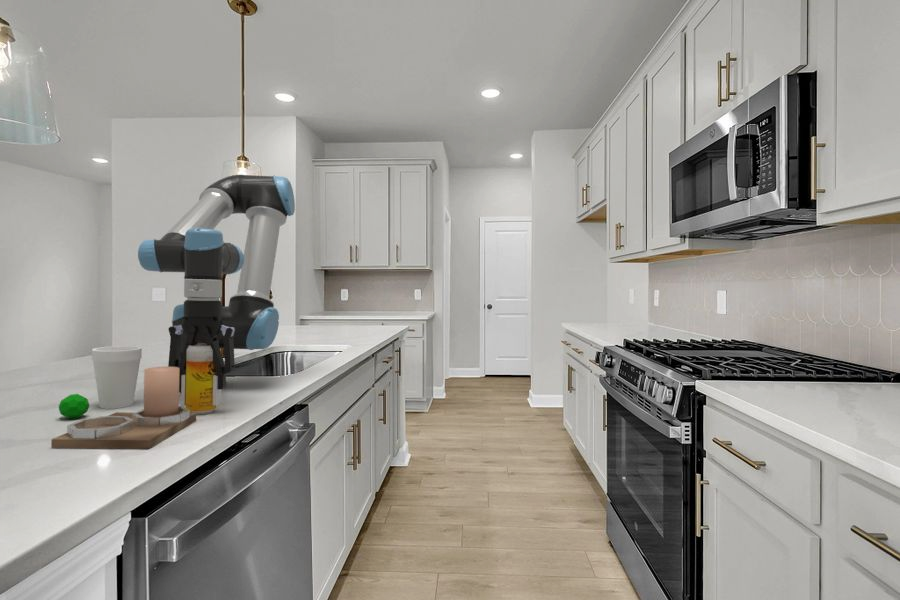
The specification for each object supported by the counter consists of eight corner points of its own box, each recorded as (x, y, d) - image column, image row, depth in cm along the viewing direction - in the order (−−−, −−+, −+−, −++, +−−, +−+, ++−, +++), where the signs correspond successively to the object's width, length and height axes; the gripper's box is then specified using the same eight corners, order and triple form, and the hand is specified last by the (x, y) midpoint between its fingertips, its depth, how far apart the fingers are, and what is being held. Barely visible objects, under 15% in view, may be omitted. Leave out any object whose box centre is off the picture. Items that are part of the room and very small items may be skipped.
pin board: (116, 419, 102) (116, 412, 102) (196, 420, 103) (196, 413, 103) (51, 448, 84) (51, 439, 84) (148, 449, 85) (149, 440, 85)
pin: (153, 415, 101) (154, 366, 100) (184, 415, 101) (185, 366, 101) (137, 423, 95) (137, 371, 94) (169, 423, 95) (170, 371, 95)
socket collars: (117, 412, 102) (117, 405, 102) (195, 413, 103) (195, 406, 103) (55, 438, 84) (55, 429, 84) (150, 439, 85) (150, 431, 85)
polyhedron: (82, 420, 101) (82, 397, 101) (53, 421, 99) (54, 397, 99) (93, 414, 106) (93, 392, 105) (66, 415, 104) (66, 392, 104)
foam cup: (142, 399, 120) (143, 345, 120) (138, 408, 112) (139, 350, 111) (95, 402, 116) (95, 346, 115) (87, 411, 107) (88, 352, 107)
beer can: (203, 416, 106) (204, 346, 106) (179, 414, 108) (180, 345, 107) (222, 409, 112) (223, 343, 112) (198, 407, 113) (199, 342, 113)
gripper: (149, 298, 105) (147, 407, 105) (241, 301, 106) (238, 408, 107) (167, 297, 112) (165, 399, 113) (252, 300, 114) (250, 400, 114)
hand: (201, 403), depth 110 cm, fingers closed on beer can, 6 cm apart
